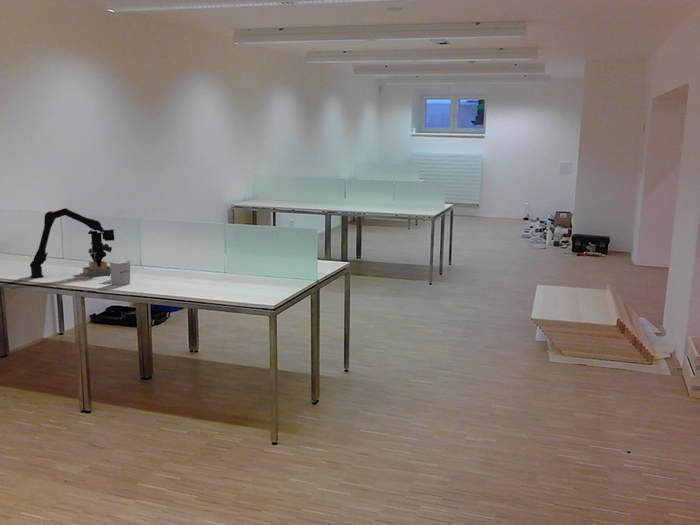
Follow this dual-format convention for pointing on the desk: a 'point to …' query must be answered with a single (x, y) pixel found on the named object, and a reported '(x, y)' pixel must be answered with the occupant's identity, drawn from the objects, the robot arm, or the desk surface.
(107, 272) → the big crate
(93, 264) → the small crate
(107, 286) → the desk surface
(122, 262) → the supplement box
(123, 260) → the light bulb box
